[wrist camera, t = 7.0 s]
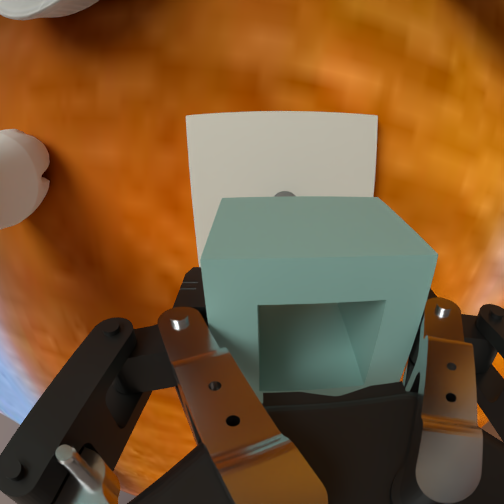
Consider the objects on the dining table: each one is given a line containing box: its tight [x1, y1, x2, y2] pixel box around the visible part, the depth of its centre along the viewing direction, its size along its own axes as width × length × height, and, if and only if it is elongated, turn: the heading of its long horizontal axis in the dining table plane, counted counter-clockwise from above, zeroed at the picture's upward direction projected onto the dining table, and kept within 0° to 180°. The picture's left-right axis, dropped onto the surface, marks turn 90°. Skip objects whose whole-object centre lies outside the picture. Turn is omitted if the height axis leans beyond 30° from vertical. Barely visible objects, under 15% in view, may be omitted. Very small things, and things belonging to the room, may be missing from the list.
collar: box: [200, 196, 438, 403], centre depth 11 cm, size 6×6×5 cm
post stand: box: [186, 111, 378, 267], centre depth 18 cm, size 12×12×9 cm
